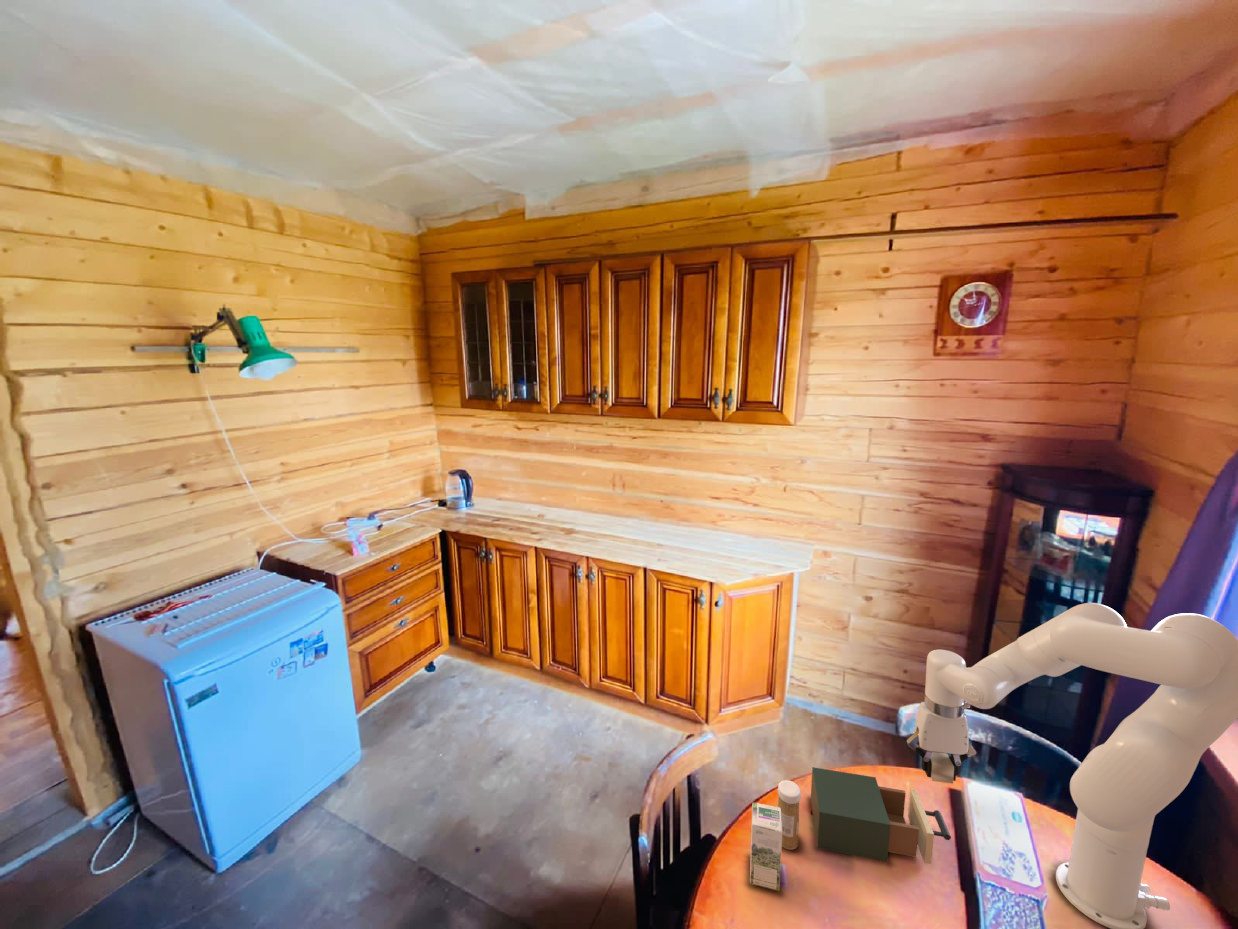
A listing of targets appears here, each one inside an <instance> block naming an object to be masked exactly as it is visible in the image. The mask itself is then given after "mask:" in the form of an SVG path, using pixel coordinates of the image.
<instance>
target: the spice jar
mask: <svg viewBox="0 0 1238 929" xmlns="http://www.w3.org/2000/svg"><path fill="white" fill-rule="evenodd" d="M801 792H802V791H801V788H800V786H799V785H798V784H797V783H796V782H795V781H792V780H788V779H784V780H781V781H780V782H779V783H778V785H777V795H778V801H777V807H779V808H781V821H782V847H781V848H782V849H783V848H784V849H786V850H795V849H797V848H798V845H799V826H800V801H801Z"/></svg>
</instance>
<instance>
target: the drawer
mask: <svg viewBox="0 0 1238 929" xmlns="http://www.w3.org/2000/svg"><path fill="white" fill-rule="evenodd" d="M878 787H879V790H880V793H881V796H882V800H883V803H884V806H885V809H886V812H887V816H888V819H889V822H890V835H889V847H888V853H892V854H897V855H902V856H908V857H913V858H917V854H918V853H917V852H918V849H919V852H920V855H921V857H922V860H923V863H924V864H927V865H931V863H932V856H933V847H934V840H935V839H934V837H935V836H936V837H942V838H943V839H944V840H946V841H950V840H951V839H952V836H951V834H950V832H949V829H948V827H947V824H946V822H945V820H944V817H943V815H942V813H941V811H940V810H934V811H930V810H926V809H925V808H924V805H923V803H922V801H921V798H920V796H919V793H918V790H917V789H916V788H910V789H909V798H908V808H907V818H908V821H909V824H907V823H906V820H905V817H904V815H905V804H906V791H905V790H904V789H897V788H892V787H885V786H880V785H878ZM928 816H929V817H930V816H931V817H934V819H935V821H936V823H937V826H938V829H939V831H937V830H933V828H932V826H931V823H930V821H929V818H928Z"/></svg>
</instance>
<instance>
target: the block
mask: <svg viewBox="0 0 1238 929" xmlns="http://www.w3.org/2000/svg"><path fill="white" fill-rule="evenodd" d="M930 761H931V763H932V768H931V777H929V778H930V780H931V781H932V782H938V783H946V784H951V785H953V784H954V781H953V777H954V766H953V764H952V762H951V760H950V758H949V754H948V753H942V752H934V751H933V752H932V755H931V757H930Z"/></svg>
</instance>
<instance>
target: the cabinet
mask: <svg viewBox="0 0 1238 929" xmlns="http://www.w3.org/2000/svg"><path fill="white" fill-rule="evenodd" d="M810 786H811V787H810V789H811V790H810V805H811V806H810V807H811V813H812V820H813V826H814V833H815V834H814V835H815V840H816V847H817V849H820V850H825V851H830V852H835V853H840V854H845V855H849V856H855V857H860V858H865V859H870V860H875V861H879V862H885V863H888V857H889V852H888V847H889V835H890V822H889V819H888V816H887V812H886V809H885V806H884V803H883V800H882V796H881V793H880V790H879V787H878V786H879V784H878V781H877V777H875V776H869V775H863V774H857V773H852V772H851V773H850V772H845V771H839V770H833V769H826V768H822V767H821V768H820V767H814V766H812V767H811V784H810Z"/></svg>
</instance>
